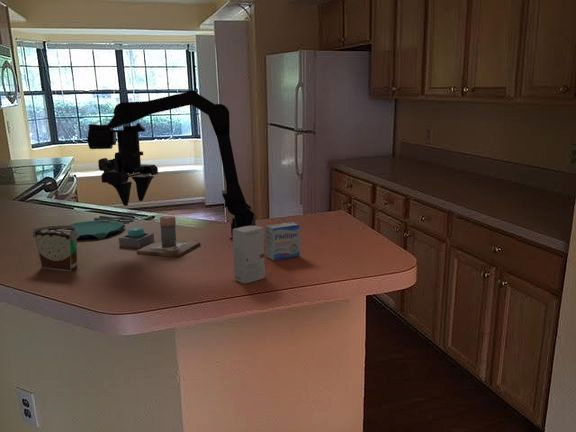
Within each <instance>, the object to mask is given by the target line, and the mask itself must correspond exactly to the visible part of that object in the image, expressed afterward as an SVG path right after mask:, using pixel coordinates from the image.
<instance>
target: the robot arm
mask: <svg viewBox="0 0 576 432" xmlns="http://www.w3.org/2000/svg"><path fill="white" fill-rule="evenodd" d="M187 106H193V107H194V108H195V109H198V110H199V111H201V112H202V113H204V114H206V115H207V116H208V118H209V120H210V123H211V126H212V129H213V131H214V133H215V136H216V140H217V143H218V148H219V153H220V158H221V159H220V160H221V164H222V168H223V169H222V170H223V173H224V179H225V183H226V184H225V188H226V189H225V190H221V196H222V197H223V206H224V208H227V211H228V213H229V214H231V215H232V216H234V217H232V218H231V223H230V232H231V235H230V236H231V237H230V241H231V240H232V241H233V232H232V230H233V229H235V228H240V227H244V226H250V225H254V226H257V224H256V217H255V211H254V208H253V207H252V206H250V205H249V204H248V203H247V201H246V198H245V196H244V193H243V190H242V187H241V185H240V183H239V178H238V173H237V168H236V163H235V162H236V161H235V158H234V153H233V146H232V142H231V137H230V136H231V135H230V128H231V127H230V111H229V110H230V109H229V108H228V107H227V106H226V105H225V104H222V103H214V102H213V101H210V100H209V99H207V98H205V97H204V96H203V95H201V94H199V93H198V91H196V90H194V89H190V90H188V91H186V92H185V91H184V92H181V93H177V94H173V95H168V96H164V97H160V98H155V99H151V100H145V101H144V100H143V101H128V102H126V101H125V102H120V103H117V104H116V105H115V106H114V108H113V117H112V118H111V119H110V121H108V123H107V124H96V123H92V124H88V130H87V138H86V139H87V145H88V147H89V148H88V149H90V150H109V149H110V150H112V149H113V147H114V146H116V145H117V148H118V149H117V152H115V153H114V158H111V159H108V158H107V157H104V158H99V159H98V162H97V163H98V164H97V165H98V170H100V171H101V172H102V174H101V177H100V178H101V183H102V184H103V183H105V184H108V185H111V186H112V187H113V188H114V189H115V190H116V192H117V194H118V196H119V198H120V201H121V203H122V205H123V206H124V207H128V205H129V201H130V196H131V189H132V184H133V183H132V181H128V180H129V179H130V178H131V179H132V180H133V181H134V183H135V186H136V193H137V199H138V201H139V202H143V201H144V198H145V196H146V193H147V190H148V189H149V186H150V184H151V182H152V180H153V179H154V178H155V177H154V176H155V175H159V170H158V169H159V168H158V167H157V165H156V164H146V163H145V164H143V163H142V162H141V161H142V159H141V156H144V151H141V148H140V137H139V136H140V135H139V133H143V132H146V130H147V129H146V128H145V127H144V126H143V125H142V124H141V123H140V122H137V123H136V125H128V124H132V123H134V122H136V121H139V120H141V119H143V118H146V117H147V116H151V115H153V114H157V113H158V114H159V113H161V112H166V111H169V110H174V109H179V108H183V107H187ZM123 125H124V129H116V128H120V127H122V126H123Z"/></svg>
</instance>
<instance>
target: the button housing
mask: <svg viewBox="0 0 576 432" xmlns="http://www.w3.org/2000/svg"><path fill="white" fill-rule="evenodd" d="M154 242H155V235H154V232H145V231H144V236H143V237H141V238H129V237H128V233H126V234H124V235H122V236H120V237H118V244H119V247H122V248H133V249H134V248H135V249H136V248H137V249H141V248H143V247H145V246H147V245H150V244H152V243H154Z"/></svg>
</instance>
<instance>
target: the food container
mask: <svg viewBox="0 0 576 432" xmlns="http://www.w3.org/2000/svg"><path fill="white" fill-rule="evenodd" d="M69 225H70V224H69ZM69 225H65V224H59V225H58V224H57V225H56V224H55V225H49V226H41V227H37V228H33V231H32V238H34V240H35V243H36V244H35V245H36V249H37V253H38V258H39V263H40V267H41V269H46V270H47V269H49V270H55V271H56V270H57V271H65V272H73V271H75V270H77V268H78V243H77V241H78V240H77V239H78V238H80V237H79V233H78V230H77V229H76V227H74V226H69Z"/></svg>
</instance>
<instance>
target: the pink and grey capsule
mask: <svg viewBox="0 0 576 432" xmlns="http://www.w3.org/2000/svg"><path fill="white" fill-rule="evenodd" d="M159 226H160V239H161V243H162V247H174V246H176V240H177V232H176V216H174V215H164V216H161V217H159Z"/></svg>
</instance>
